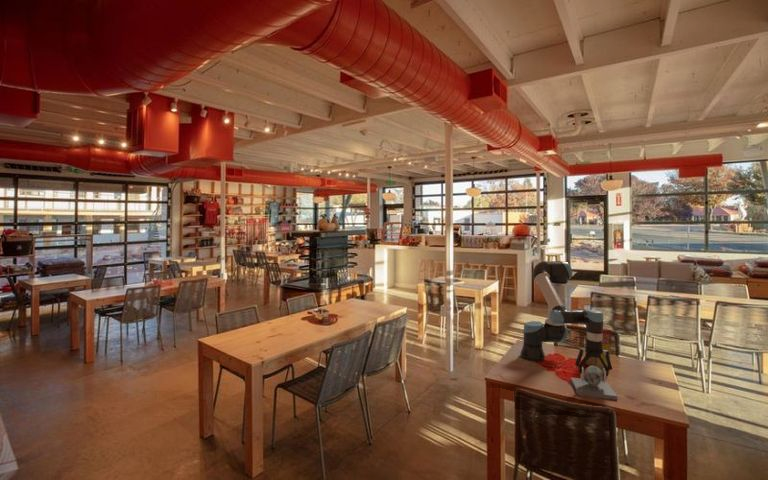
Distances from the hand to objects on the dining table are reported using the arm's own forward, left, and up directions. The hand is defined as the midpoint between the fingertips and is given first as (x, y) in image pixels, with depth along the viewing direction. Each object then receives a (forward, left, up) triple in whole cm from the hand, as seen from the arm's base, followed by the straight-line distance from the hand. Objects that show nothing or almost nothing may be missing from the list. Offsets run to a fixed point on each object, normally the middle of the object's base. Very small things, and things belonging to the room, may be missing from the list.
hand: (592, 380), depth 200 cm
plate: (0, 0, -5) cm, 5 cm away
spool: (0, 0, -1) cm, 1 cm away
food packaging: (+11, +36, -6) cm, 38 cm away
